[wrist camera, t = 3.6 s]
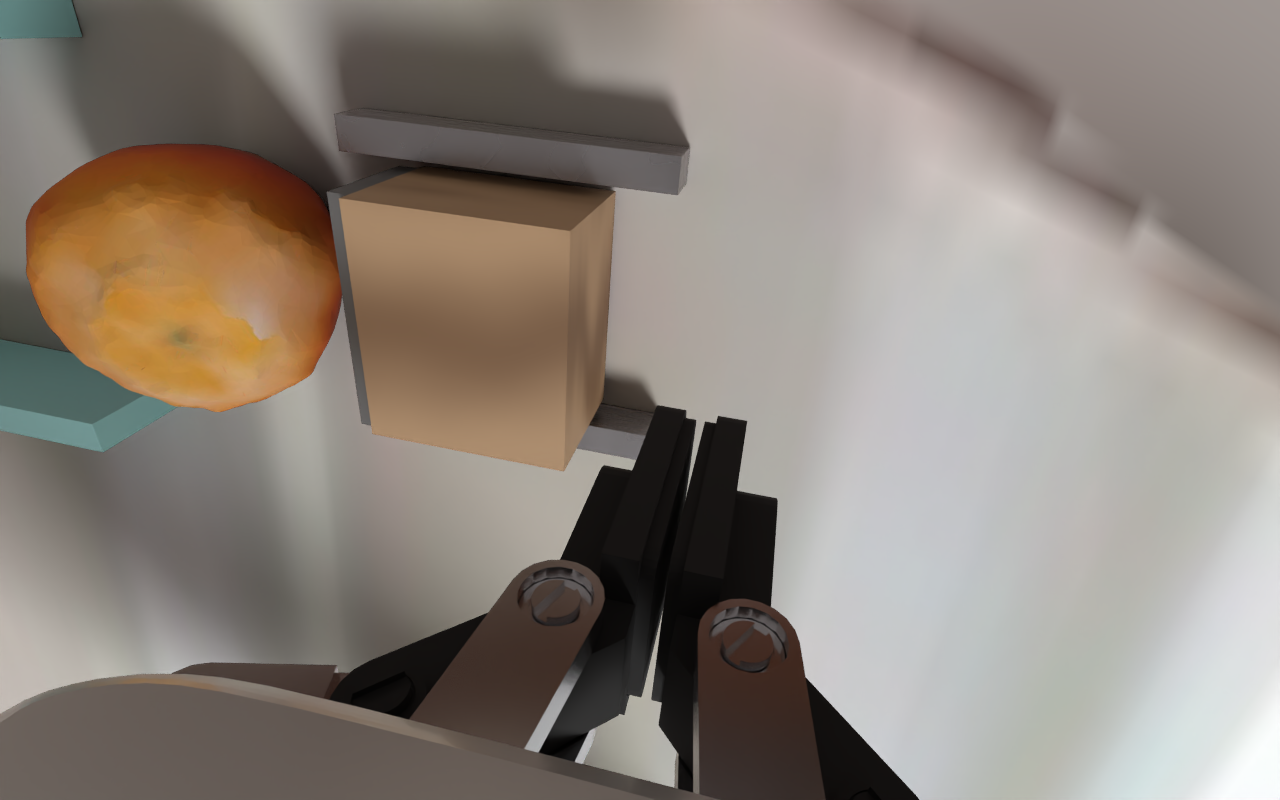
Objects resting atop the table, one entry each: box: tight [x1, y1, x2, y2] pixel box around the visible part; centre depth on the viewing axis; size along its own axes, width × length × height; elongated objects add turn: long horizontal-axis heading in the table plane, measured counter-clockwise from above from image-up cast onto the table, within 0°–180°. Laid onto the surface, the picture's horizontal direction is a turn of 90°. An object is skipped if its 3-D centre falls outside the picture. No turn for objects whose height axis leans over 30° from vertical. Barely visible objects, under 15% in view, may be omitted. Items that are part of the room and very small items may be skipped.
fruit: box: [26, 144, 342, 412], centre depth 21 cm, size 8×8×8 cm
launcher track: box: [334, 108, 690, 460], centre depth 22 cm, size 10×10×2 cm
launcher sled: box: [327, 166, 616, 471], centre depth 20 cm, size 7×7×4 cm
